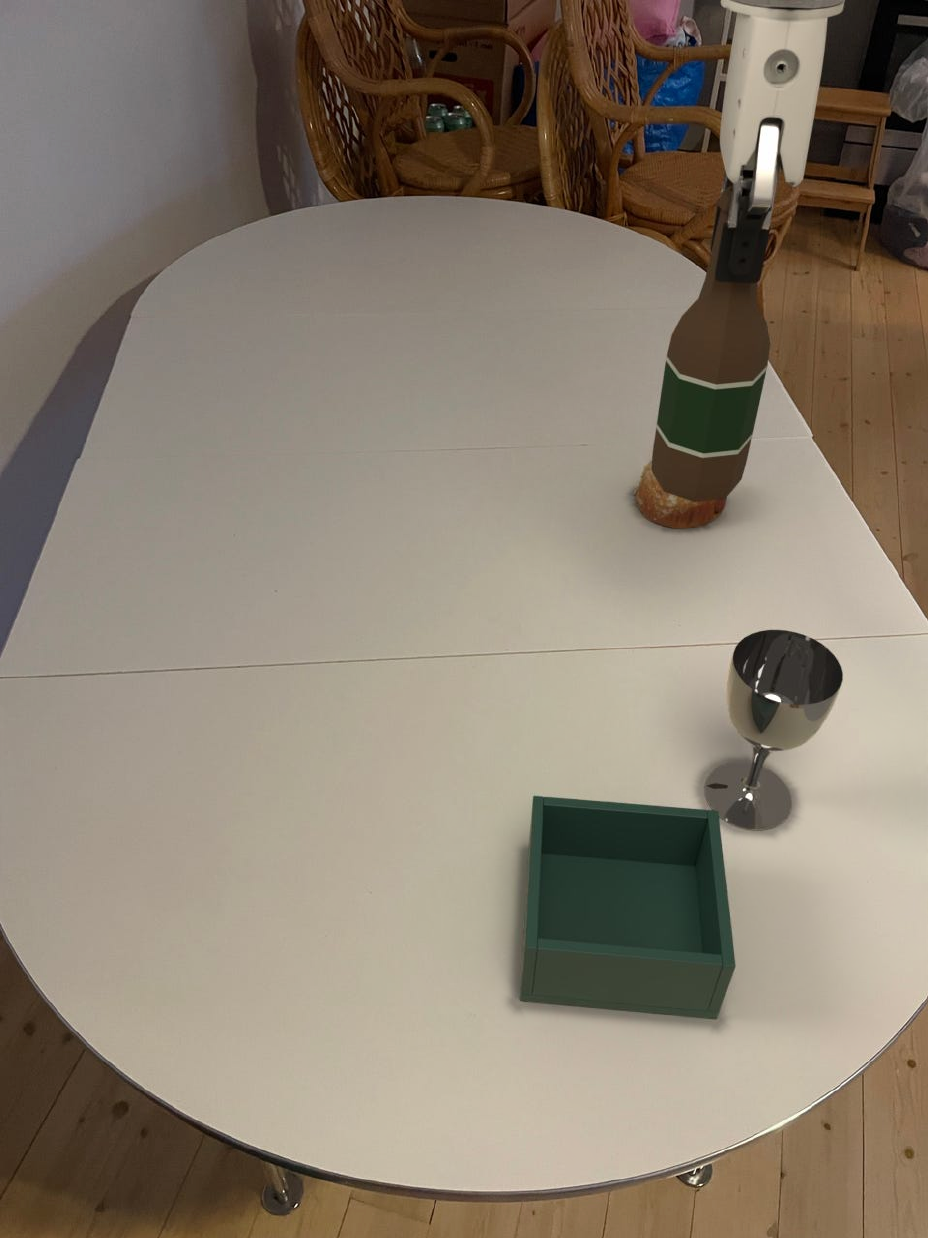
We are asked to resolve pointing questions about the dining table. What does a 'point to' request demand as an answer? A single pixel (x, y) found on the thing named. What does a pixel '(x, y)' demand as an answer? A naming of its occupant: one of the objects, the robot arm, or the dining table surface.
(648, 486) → the bread roll
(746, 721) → the wine glass
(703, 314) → the beer bottle
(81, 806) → the dining table surface
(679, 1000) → the tub
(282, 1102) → the dining table surface
